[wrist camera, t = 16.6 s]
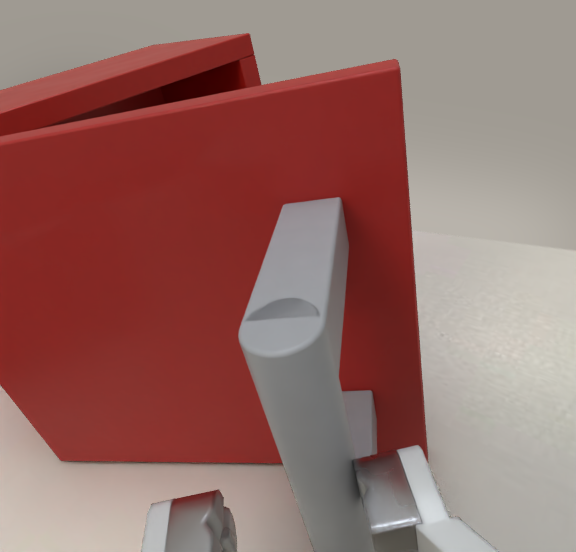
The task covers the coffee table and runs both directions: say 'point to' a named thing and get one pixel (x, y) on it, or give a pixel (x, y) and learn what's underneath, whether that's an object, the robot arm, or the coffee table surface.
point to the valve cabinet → (131, 83)
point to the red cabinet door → (221, 286)
